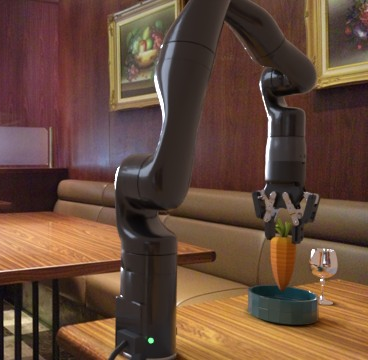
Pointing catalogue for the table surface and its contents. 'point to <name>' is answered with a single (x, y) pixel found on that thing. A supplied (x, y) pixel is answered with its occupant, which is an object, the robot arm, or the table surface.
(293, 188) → the robot arm
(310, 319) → the bowl
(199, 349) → the table surface
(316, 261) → the wineglass
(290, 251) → the carrot
